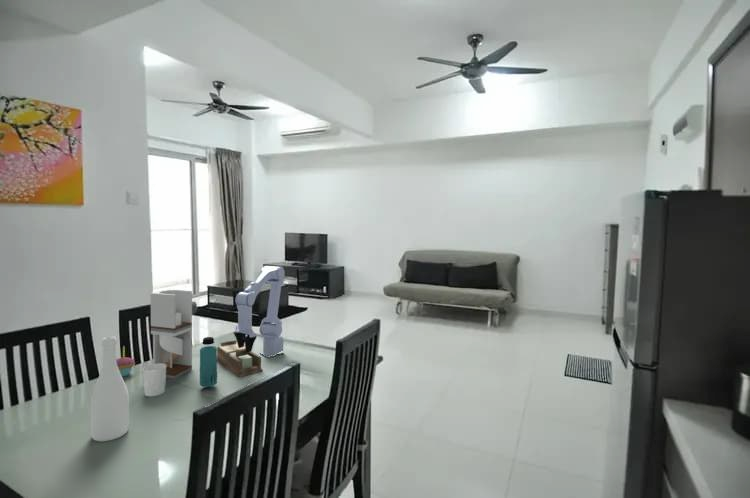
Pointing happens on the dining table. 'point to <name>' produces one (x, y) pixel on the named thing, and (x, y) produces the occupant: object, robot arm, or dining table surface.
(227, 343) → the lid
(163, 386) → the white cup
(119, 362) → the cupcake
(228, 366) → the brown wooden box
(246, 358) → the block
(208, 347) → the beverage bottle
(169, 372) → the white tiered shelf
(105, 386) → the wine bottle
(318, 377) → the dining table surface
